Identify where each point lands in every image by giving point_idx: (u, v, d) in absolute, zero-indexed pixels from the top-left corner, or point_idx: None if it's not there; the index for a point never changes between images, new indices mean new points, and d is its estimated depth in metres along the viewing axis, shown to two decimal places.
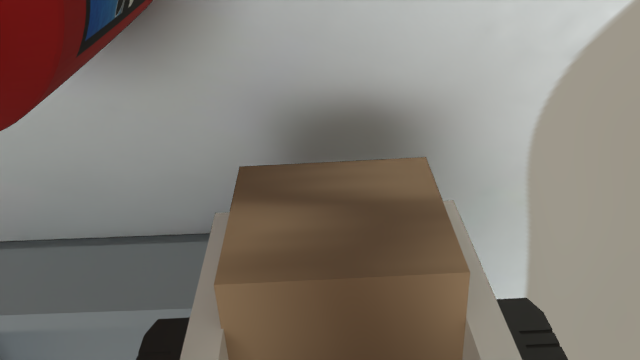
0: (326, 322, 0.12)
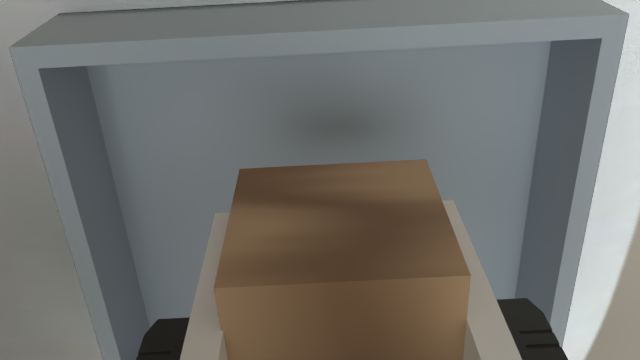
0: (326, 325, 0.12)
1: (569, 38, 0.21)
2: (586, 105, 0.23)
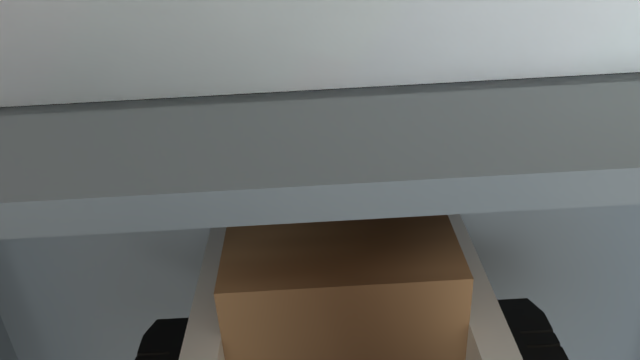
0: (328, 330, 0.12)
1: None
2: None
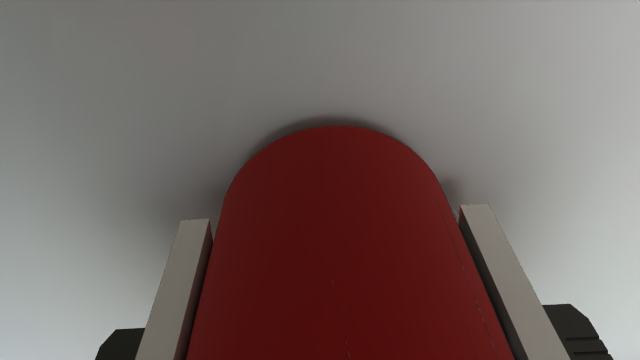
0: None
1: None
2: None
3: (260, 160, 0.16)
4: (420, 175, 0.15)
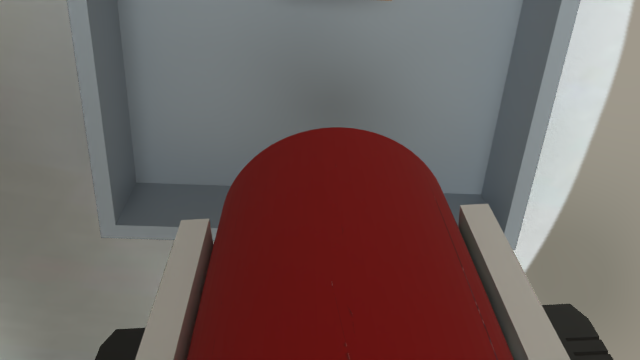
0: None
1: None
2: None
3: (260, 162, 0.16)
4: (420, 176, 0.15)
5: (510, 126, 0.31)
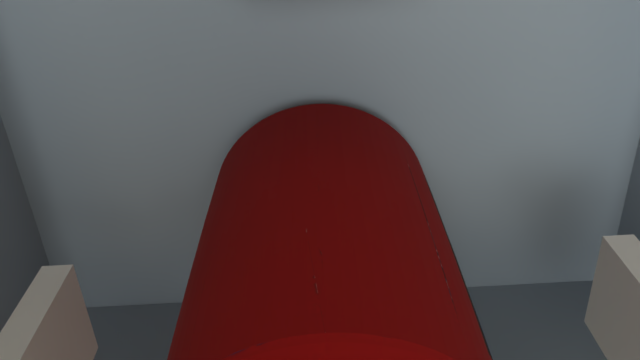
0: None
1: None
2: None
3: (250, 135, 0.17)
4: (396, 147, 0.16)
5: None
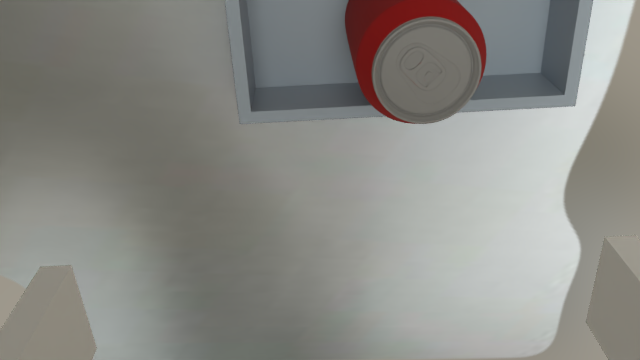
0: None
1: None
2: None
3: None
4: None
5: (562, 2, 0.38)
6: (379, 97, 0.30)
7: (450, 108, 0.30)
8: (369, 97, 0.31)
